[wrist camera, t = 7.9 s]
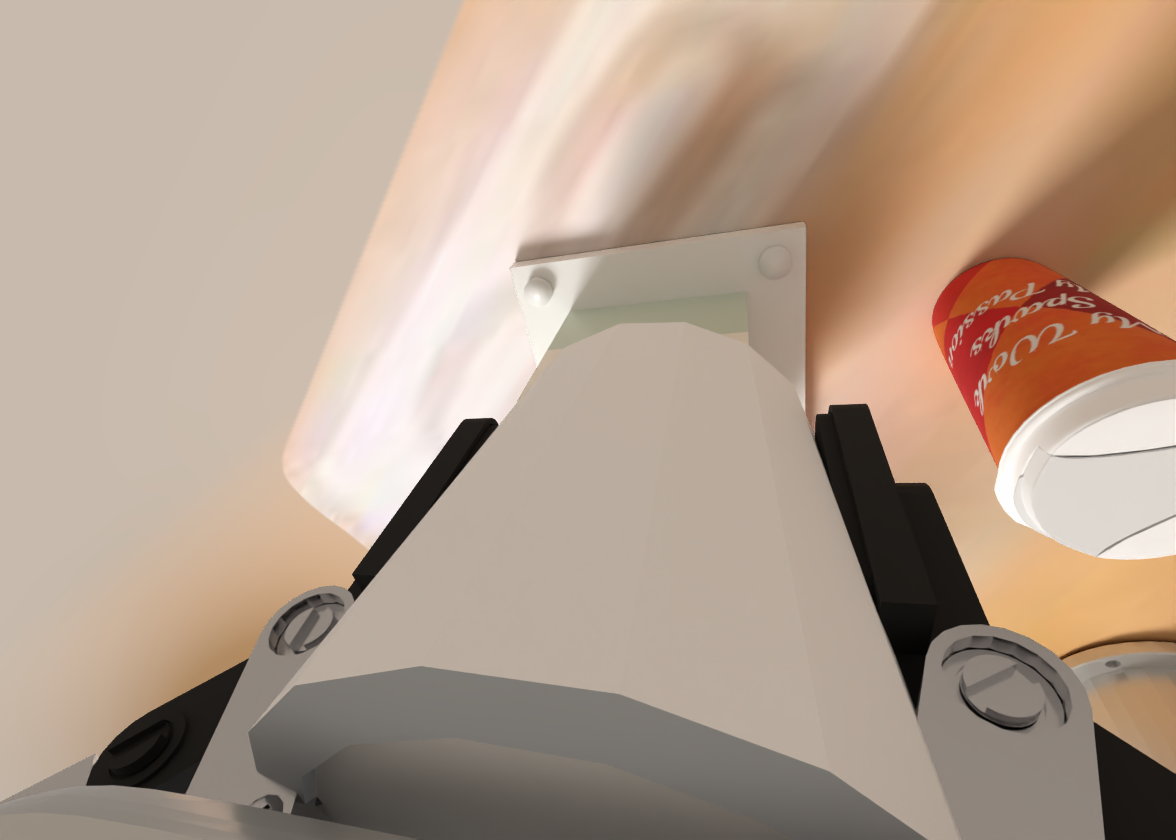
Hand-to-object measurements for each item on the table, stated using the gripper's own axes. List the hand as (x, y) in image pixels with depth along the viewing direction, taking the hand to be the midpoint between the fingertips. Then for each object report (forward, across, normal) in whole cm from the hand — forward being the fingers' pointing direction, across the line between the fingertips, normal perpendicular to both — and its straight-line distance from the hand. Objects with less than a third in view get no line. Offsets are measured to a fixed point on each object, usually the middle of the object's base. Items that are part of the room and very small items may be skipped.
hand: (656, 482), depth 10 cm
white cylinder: (+1, 0, 0) cm, 1 cm away
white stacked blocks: (+23, +3, +10) cm, 25 cm away
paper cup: (+23, -14, +8) cm, 28 cm away
